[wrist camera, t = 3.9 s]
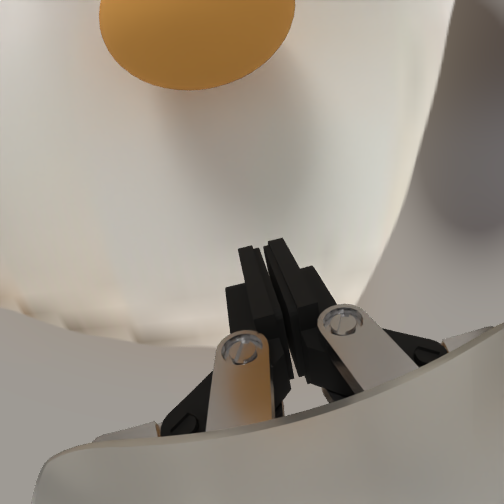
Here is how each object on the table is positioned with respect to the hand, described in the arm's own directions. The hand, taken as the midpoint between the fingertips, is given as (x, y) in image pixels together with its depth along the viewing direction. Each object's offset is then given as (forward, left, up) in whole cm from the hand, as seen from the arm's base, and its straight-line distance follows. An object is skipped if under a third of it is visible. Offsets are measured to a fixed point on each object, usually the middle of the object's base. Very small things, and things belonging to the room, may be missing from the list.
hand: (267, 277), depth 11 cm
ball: (0, +10, 0) cm, 10 cm away
